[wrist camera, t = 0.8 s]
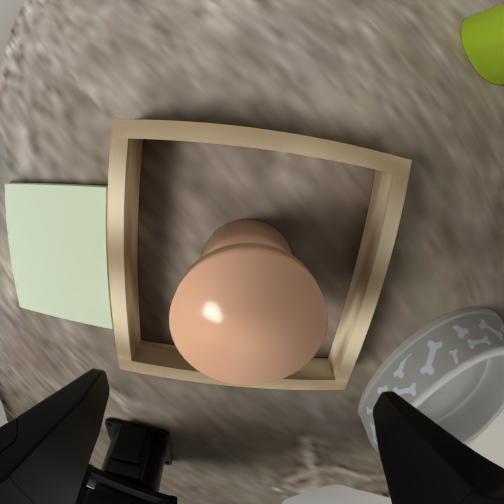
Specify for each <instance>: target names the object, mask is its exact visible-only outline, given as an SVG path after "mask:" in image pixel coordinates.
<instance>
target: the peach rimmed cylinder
mask: <svg viewBox="0 0 504 504" xmlns="http://www.w3.org/2000/svg"><path fill="white" fill-rule="evenodd" d="M169 325H170V331H171V335H172V338H173V341H174V343H175V345H176V347H177V349H178V350H179V352H180V353H181V355H182V356H183V357H184V359H185V360H186V361H187V362H188V363H189V364H190V365H192V366H193V367H194V368H195V369H197V370H198V371H200V372H201V373H203V374H205V375H206V376H209V377H211V378H213V379H215V380H218V381H221V382H225V383H229V384H235V385H261V384H267V383H271V382H275V381H278V380H281V379H283V378H286V377H288V376H289V375H291V374H293V373H295V372H296V371H298V370H299V369H301V368H302V367H303V366H305V365H306V364H307V363H308V362H309V361H310V360H311V359H312V358H313V357H314V355H315V354H316V353H317V351H318V350H319V348H320V346H321V344H322V343H323V340H324V337H325V335H326V330H327V325H328V313H327V306H326V302H325V299H324V297H323V295H322V292H321V290H320V288H319V286H318V284H317V282H316V280H315V278H314V277H313V275H312V274H311V272H310V271H309V270H308V268H307V267H306V266H305V265H304V264H303V263H302V262H301V261H299V260H298V259H297V258H296V257H294V256H293V254H292V252H291V249H290V247H289V245H288V243H287V241H286V239H285V238H284V236H283V235H282V234H281V233H280V232H279V231H278V230H277V229H275V228H274V227H272V226H271V225H269V224H267V223H265V222H261V221H258V220H252V219H243V220H237V221H233V222H230V223H227V224H225V225H223V226H222V227H220V228H219V229H218V230H217V231H215V232H214V233H213V234H212V236H211V237H210V238H209V240H208V241H207V243H206V245H205V247H204V250H203V253H202V256H201V258H200V259H199V260H197V261H196V262H195V263H194V264H193V265H192V266H191V267H190V268H189V269H188V271H187V272H186V273H185V275H184V276H183V278H182V280H181V281H180V284H179V286H178V288H177V291H176V293H175V296H174V298H173V300H172V303H171V307H170V314H169Z"/></svg>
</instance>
